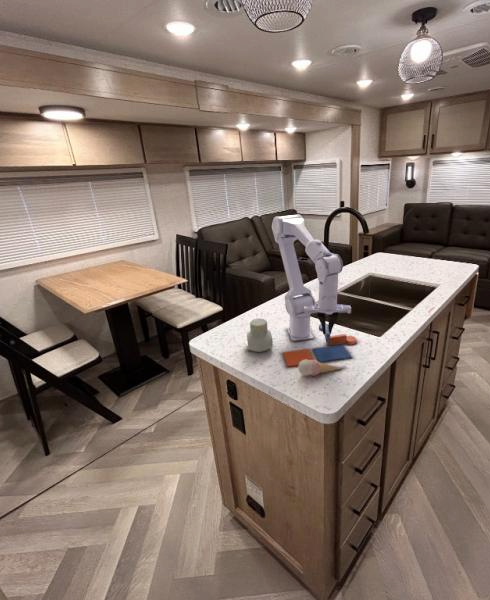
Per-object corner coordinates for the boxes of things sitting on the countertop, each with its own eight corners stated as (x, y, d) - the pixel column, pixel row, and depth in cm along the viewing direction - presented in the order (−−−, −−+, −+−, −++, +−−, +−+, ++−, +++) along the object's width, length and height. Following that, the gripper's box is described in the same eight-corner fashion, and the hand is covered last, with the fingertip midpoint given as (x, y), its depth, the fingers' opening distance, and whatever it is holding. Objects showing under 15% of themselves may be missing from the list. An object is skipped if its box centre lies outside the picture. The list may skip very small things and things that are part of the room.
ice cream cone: (338, 365, 103) (294, 364, 98) (344, 357, 100) (299, 356, 95) (341, 378, 100) (297, 378, 95) (348, 371, 97) (302, 370, 92)
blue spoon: (334, 342, 102) (334, 334, 100) (321, 342, 102) (321, 334, 100) (329, 326, 112) (330, 318, 110) (318, 326, 112) (318, 319, 110)
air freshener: (273, 354, 108) (272, 328, 104) (249, 357, 107) (247, 330, 103) (269, 338, 118) (268, 314, 114) (247, 340, 117) (245, 316, 113)
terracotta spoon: (329, 347, 112) (329, 340, 110) (325, 341, 115) (325, 334, 114) (358, 343, 114) (358, 336, 112) (353, 338, 117) (354, 331, 116)
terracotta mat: (282, 353, 108) (282, 352, 108) (308, 350, 110) (308, 349, 110) (287, 367, 101) (287, 365, 101) (315, 363, 103) (315, 362, 103)
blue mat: (312, 349, 110) (312, 348, 110) (342, 345, 113) (342, 344, 112) (319, 362, 103) (319, 361, 103) (351, 358, 105) (351, 356, 105)
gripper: (305, 299, 95) (305, 339, 101) (354, 298, 95) (351, 338, 101) (304, 290, 102) (303, 328, 107) (349, 290, 102) (347, 327, 107)
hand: (326, 332), depth 104 cm, fingers closed on blue spoon
